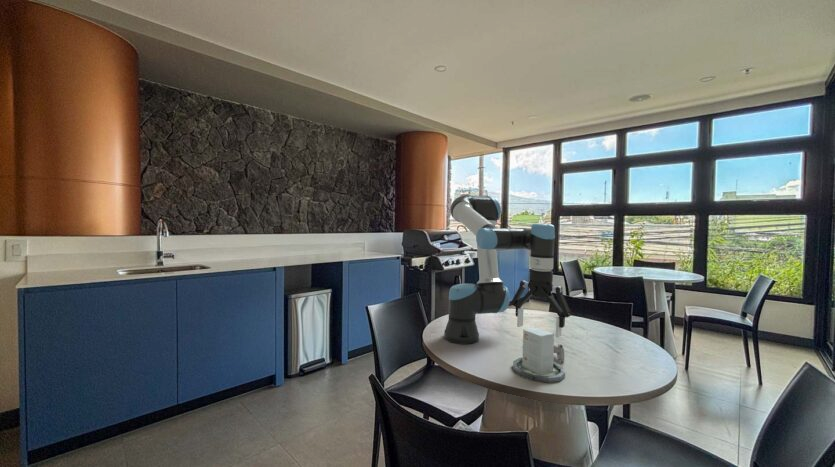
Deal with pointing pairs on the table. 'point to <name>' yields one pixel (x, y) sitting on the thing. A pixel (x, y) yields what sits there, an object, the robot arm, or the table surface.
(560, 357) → the caliper
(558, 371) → the steel bowl
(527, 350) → the small box
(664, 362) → the table surface
